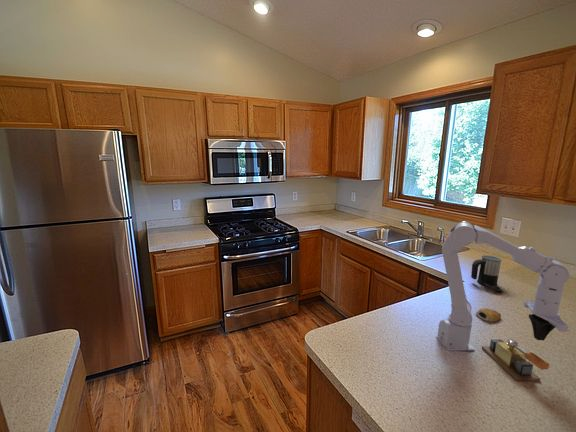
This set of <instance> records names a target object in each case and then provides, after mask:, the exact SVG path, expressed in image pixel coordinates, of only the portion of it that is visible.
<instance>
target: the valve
mask: <svg viewBox="0 0 576 432" xmlns="http://www.w3.org/2000/svg"><path fill="white" fill-rule="evenodd" d="M489 344H490V345H489V346H490V348H489V349H490V350H492V351H495V356H496V357H497V358H499V359H500V360H501V361H502V362H503V363H504V364H505V365H506V366H507V367H509V368H514V369H515V370H516V373H518V374H519V375H531V374H532V372H533V370H534V369H533V368H534V364H533V363H531V362H530V361H528V360H527V359H526V358H525V355H524V354H523V353H521V352H520V351H519V350H517V349H516V348H512V347H510V346H508V345H507V341H504V340H503V339H502V338H501V339H500V338H499V339H498V338H493V339H490V343H489Z"/></svg>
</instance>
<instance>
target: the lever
mask: <svg viewBox="0 0 576 432" xmlns="http://www.w3.org/2000/svg"><path fill="white" fill-rule="evenodd" d="M506 342H507V345H508V346H510V347H512V348H516V349H517V350H519V351H520V352H521V353H523V354H524V355H525V358H526V361H528V362H530V363H532V364H533V366H534V365H535V366H536V367H537V368H538V369H540V371H541V370H543V371H544V370H549V367H550V364H549V362H547V361H545V360H544V359H542V358H541V357H539V356H538V355H536V354H535V353H534V352H528V351H527V350H526V349H525V348H523V347H522V346H520V345H518V344H519V343H518V341H516V340H514V339H510V338H508V339H507V341H506Z"/></svg>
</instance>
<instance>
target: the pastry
mask: <svg viewBox="0 0 576 432" xmlns="http://www.w3.org/2000/svg"><path fill="white" fill-rule="evenodd" d="M475 316H477V317H478V318H479V319H481V320H484V321H486V322H489V323H493V322H498V321H499V320H500V319H501V317H502V315H501V313H499V311H497V310H495V309H491V308H490V309H489V308H484V307H483V308H480V309H478V310H477V311H476V312H475Z"/></svg>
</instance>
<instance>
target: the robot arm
mask: <svg viewBox="0 0 576 432" xmlns="http://www.w3.org/2000/svg"><path fill="white" fill-rule="evenodd" d="M474 242H475V244H476V245H481V244H486V245H489V246H492V247H493V248H495V249H496V250H499V251H502V253H506V254H508V255H510V256H512V257H511V258H512V261H513V262H514V263H516V264H518V265H519V266H520V265H521V267H524V268H526V269H527V270H529V271H531V272H534V273H536V274H539V278H538V282H537V286H536V289H535V296H534V300H533V302H532V301H530V300H524V301H523V307H524V308H526V309H529V310H530V311H531V313H530V314H528V318H529V320H530V323H531V326H532V327H531V328H532V331H533V332H532V333H533V338H534V339H535V340H537V341H545V339H546V338H547V337H548V335H549V334H550V333H551V332H552V331H553V330H554V329H556V330H557V331H559V332H564V333H565V332H568V329H569V325H568V324H567V323H565V322H564V321H563V319H562V318H561V316H562V315H561V314H560V313H559V310H560V305H561V302H562V296H563V293H564V287H565V283H567V282H568V281H569V280H570V278H571V275H570V272H569V270H568V269H567V267H566V266H564V265H563V264H562V263H561V262H560V261H558V260H557V259H556V258H553V257H552V256H546V255H544V254H542V253H541V252H538V251H536V250H537V249H536V248H535V247H533V246H529V247H528V246H525V245H523V246H517V245H515V244H513V243H511V242H509V241H508V240H506V239H505V238H502V237H500V236H499V235H496V234H494V232H492V231H489V230H488V229H485V228H483V227H481V226H478V225H476V224H474V225H473V224H472V223H470V222H468V221H460V222H457V223H456V224H455V225H454V226H452V227H451V229H450V230H449V233H448V235H447V237H446V238H445V240H444V241H443V243H442V246H441V252H442V258H443V263H444V264H443V265H444V267H445V273H446V278H447V282H448V283H447V284H448V289H449V295H450V299H451V302H450V303H451V304H450V308H451V311H450V314H449V315H448V316H447V318H446V319H443V320H439V323H438V330H437V335H436V336H435V338H437V340H438V341H439V342H440V343H441V344H442V345H443V346H444V348H445V349H446V350H448V351H475V347H473V346H472V345H471V344H470V339H471V332H472V326H473V316H472V305H471V303H470V302H469V301H468V299H467V298H468V297H467V295H466V290H465V285H464V279H463V275H462V269H461V264H460V259H459V252H460V250H462V249H463V248H465V247H467V246H469V245H472V243H474Z"/></svg>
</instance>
